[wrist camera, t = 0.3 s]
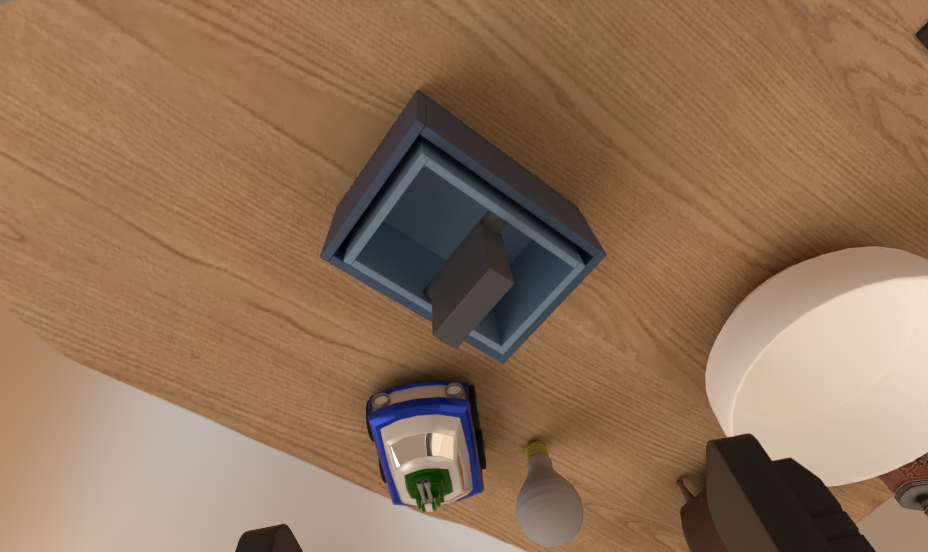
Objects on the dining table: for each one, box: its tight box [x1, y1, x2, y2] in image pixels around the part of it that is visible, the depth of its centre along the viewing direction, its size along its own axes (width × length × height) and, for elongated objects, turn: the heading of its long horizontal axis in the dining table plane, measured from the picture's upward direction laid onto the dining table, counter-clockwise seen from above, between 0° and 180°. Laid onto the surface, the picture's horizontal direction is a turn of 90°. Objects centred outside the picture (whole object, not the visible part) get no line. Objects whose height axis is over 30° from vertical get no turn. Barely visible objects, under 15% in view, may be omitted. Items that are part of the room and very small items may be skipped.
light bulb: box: [516, 441, 583, 547], centre depth 49 cm, size 5×5×10 cm
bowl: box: [705, 246, 928, 486], centre depth 45 cm, size 20×20×8 cm
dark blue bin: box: [320, 90, 606, 364], centre depth 38 cm, size 14×10×8 cm
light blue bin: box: [344, 134, 585, 354], centre depth 35 cm, size 12×8×13 cm, turn 53°
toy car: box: [366, 381, 486, 513], centre depth 47 cm, size 9×12×10 cm
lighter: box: [879, 452, 928, 516], centre depth 51 cm, size 8×3×10 cm, turn 84°
